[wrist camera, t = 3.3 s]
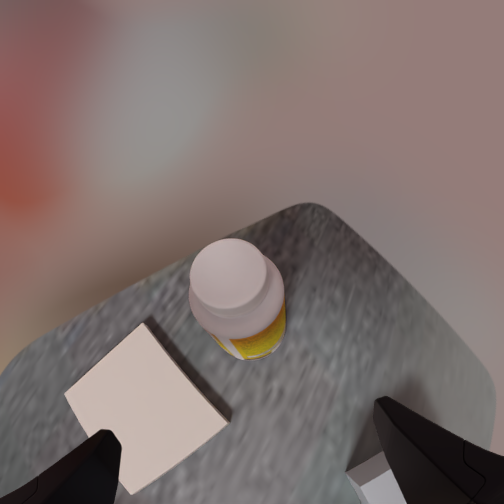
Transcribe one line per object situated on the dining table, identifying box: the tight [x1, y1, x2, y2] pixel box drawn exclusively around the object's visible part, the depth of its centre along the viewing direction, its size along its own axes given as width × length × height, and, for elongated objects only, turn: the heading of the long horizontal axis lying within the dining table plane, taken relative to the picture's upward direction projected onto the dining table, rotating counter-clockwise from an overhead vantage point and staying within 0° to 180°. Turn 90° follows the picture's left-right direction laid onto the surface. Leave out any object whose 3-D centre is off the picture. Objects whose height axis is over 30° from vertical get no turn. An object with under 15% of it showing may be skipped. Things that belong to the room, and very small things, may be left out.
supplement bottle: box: [189, 238, 286, 360], centre depth 19 cm, size 6×6×10 cm
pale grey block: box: [345, 451, 407, 504], centre depth 13 cm, size 5×5×5 cm
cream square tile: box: [65, 323, 230, 495], centre depth 20 cm, size 11×11×1 cm
